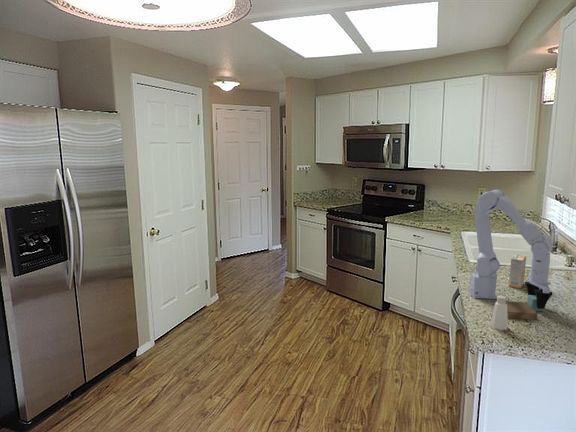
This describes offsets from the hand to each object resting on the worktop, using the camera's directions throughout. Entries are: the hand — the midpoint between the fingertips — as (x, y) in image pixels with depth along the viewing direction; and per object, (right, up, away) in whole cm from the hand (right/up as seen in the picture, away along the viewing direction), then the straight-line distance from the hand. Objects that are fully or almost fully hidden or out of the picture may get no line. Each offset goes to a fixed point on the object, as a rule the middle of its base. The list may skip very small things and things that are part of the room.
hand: (536, 304), depth 154 cm
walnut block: (-10, -2, -4) cm, 11 cm away
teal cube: (0, -2, 0) cm, 2 cm away
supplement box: (+7, +3, +25) cm, 26 cm away
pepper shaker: (-22, -5, -15) cm, 27 cm away
